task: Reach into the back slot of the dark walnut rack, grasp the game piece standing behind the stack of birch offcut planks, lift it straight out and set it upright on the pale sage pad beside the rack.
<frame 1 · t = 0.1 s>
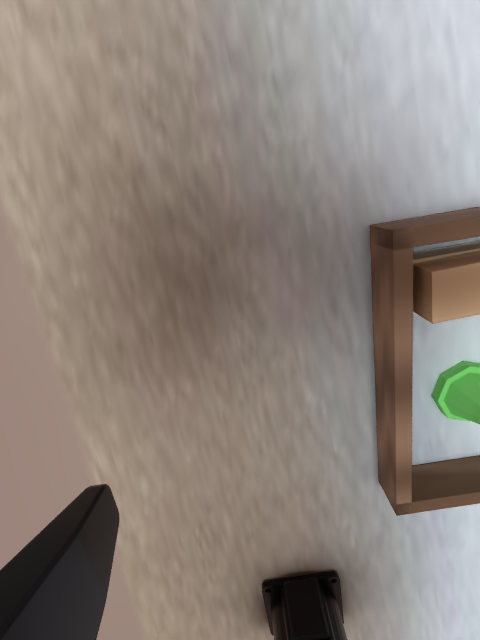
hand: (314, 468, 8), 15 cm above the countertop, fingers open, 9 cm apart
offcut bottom: (467, 265, 22), on the countertop, touching offcut top
game piece: (461, 387, 25), on the countertop
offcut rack: (465, 356, 23), on the countertop
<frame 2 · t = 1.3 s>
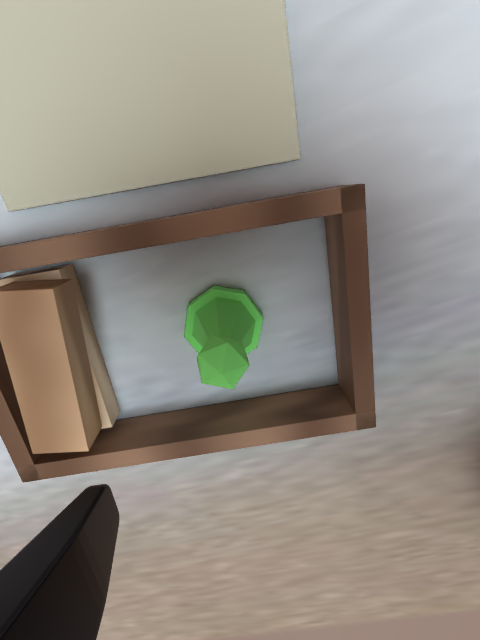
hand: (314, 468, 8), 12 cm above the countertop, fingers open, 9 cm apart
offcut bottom: (75, 344, 20), on the countertop, touching offcut top
game piece: (223, 321, 20), on the countertop
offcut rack: (179, 330, 20), on the countertop
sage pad: (126, 64, 15), on the countertop
offcut top: (61, 359, 18), point 2 cm above the countertop, touching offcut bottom
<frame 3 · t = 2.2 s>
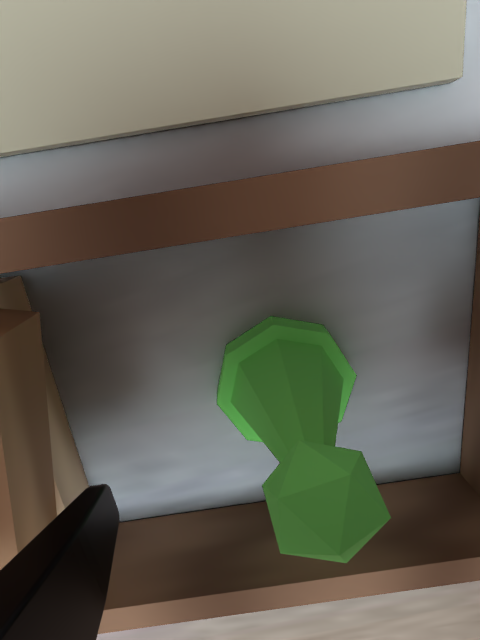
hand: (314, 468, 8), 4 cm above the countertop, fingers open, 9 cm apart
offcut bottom: (25, 408, 12), on the countertop, touching offcut top
game piece: (281, 374, 12), on the countertop
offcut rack: (205, 389, 11), on the countertop
offcut top: (0, 446, 10), point 2 cm above the countertop, touching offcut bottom
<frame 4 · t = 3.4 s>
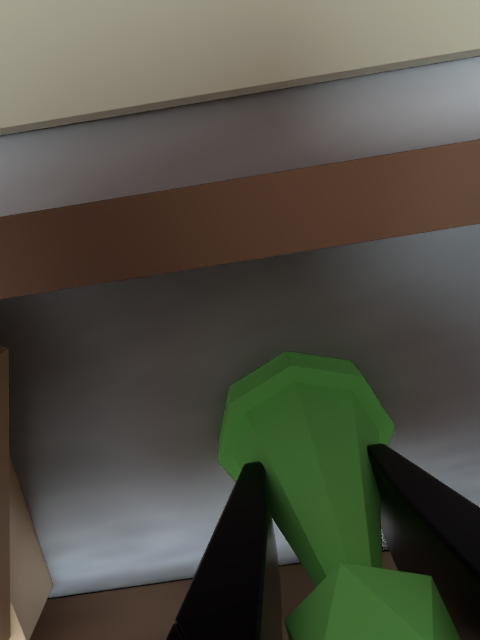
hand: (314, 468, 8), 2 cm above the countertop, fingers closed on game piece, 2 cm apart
game piece: (298, 419, 9), on the countertop, touching gripper
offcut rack: (204, 440, 9), on the countertop
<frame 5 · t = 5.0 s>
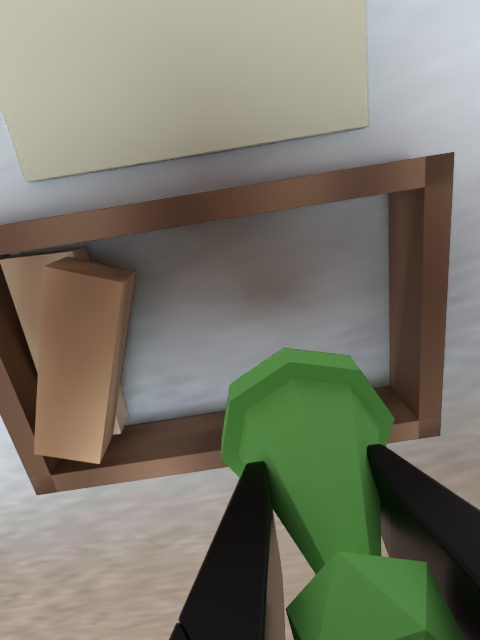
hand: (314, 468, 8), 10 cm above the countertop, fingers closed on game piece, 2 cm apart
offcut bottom: (82, 337, 18), on the countertop, touching offcut top
game piece: (299, 415, 10), point 8 cm above the countertop, touching gripper
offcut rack: (215, 323, 17), on the countertop
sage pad: (170, 7, 13), on the countertop
offcut top: (92, 354, 16), point 1 cm above the countertop, touching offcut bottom
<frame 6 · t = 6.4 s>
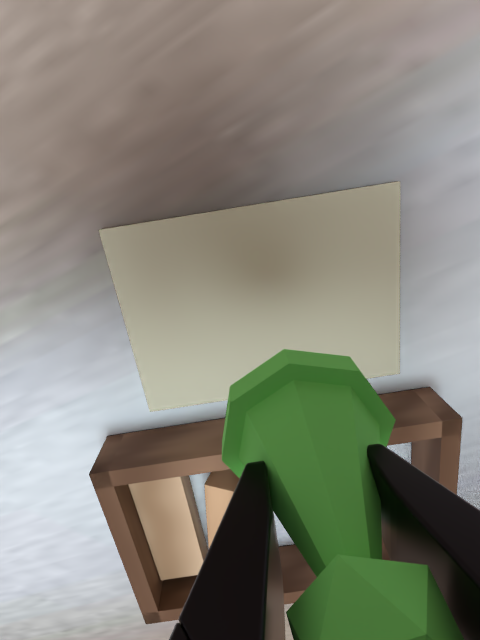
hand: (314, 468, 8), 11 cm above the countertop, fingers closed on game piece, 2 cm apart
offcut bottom: (172, 498, 23), on the countertop
game piece: (299, 416, 10), point 10 cm above the countertop, touching gripper
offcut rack: (279, 490, 23), on the countertop
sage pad: (261, 305, 18), on the countertop
offcut top: (217, 521, 22), point 1 cm above the countertop, tilted 70°
when the fingers open (3 cm above the countertop, at t = 7.9 s): game piece drops 1 cm, resting on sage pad.
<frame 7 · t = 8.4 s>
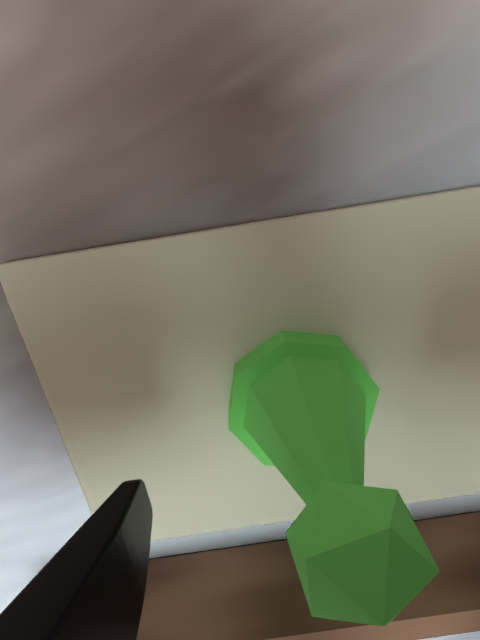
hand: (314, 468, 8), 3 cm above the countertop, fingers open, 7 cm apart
game piece: (296, 391, 11), resting on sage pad
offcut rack: (306, 639, 15), on the countertop
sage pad: (287, 385, 11), on the countertop
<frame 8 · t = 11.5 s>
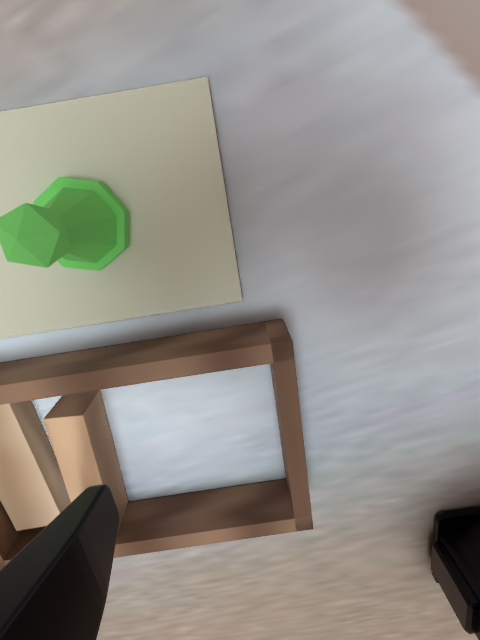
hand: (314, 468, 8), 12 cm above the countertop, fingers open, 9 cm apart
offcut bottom: (29, 445, 22), on the countertop
game piece: (87, 224, 17), resting on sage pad
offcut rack: (138, 435, 22), on the countertop
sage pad: (84, 223, 17), on the countertop
offcut top: (74, 465, 21), point 1 cm above the countertop, tilted 90°
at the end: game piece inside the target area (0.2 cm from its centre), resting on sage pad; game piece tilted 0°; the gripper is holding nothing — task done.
